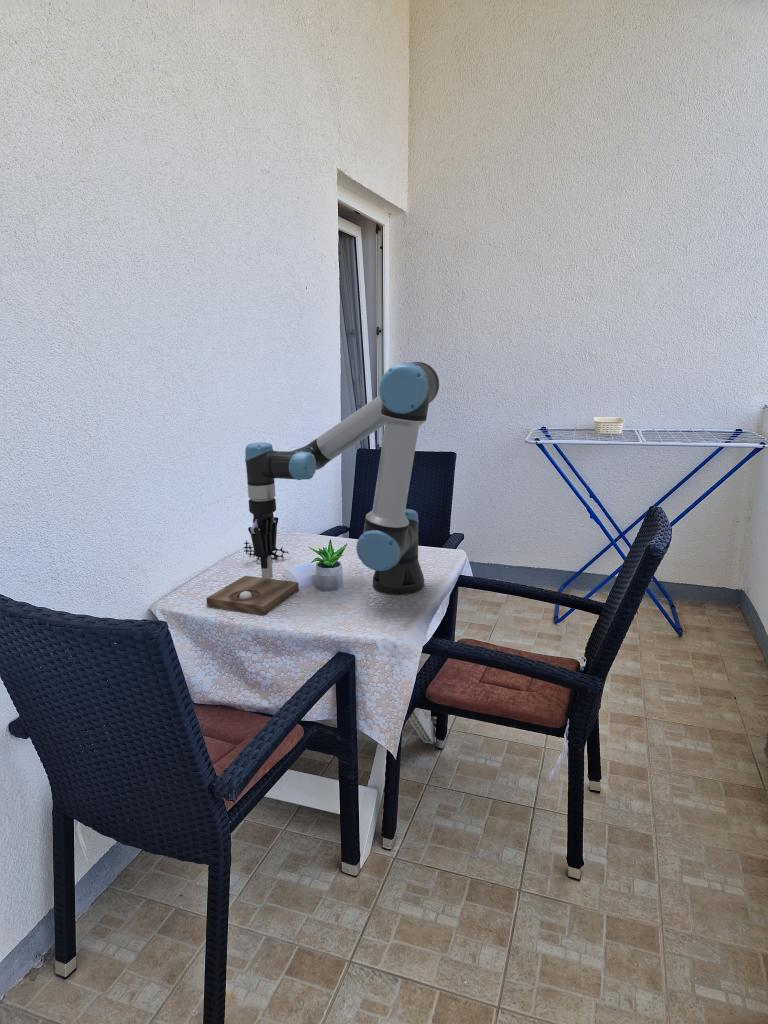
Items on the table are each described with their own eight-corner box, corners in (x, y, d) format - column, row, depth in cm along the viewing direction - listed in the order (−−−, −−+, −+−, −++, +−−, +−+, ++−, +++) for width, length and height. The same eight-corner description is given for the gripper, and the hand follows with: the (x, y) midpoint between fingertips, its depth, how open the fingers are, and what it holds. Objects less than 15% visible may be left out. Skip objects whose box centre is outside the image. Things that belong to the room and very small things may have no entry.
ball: (251, 607, 179) (255, 596, 181) (246, 600, 176) (251, 589, 178) (239, 605, 180) (244, 595, 182) (235, 598, 177) (240, 588, 179)
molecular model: (290, 560, 215) (289, 536, 213) (245, 567, 209) (243, 542, 207) (285, 555, 221) (284, 532, 219) (241, 562, 215) (239, 538, 213)
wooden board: (298, 590, 189) (298, 582, 188) (264, 615, 171) (263, 606, 171) (245, 583, 195) (244, 575, 194) (207, 606, 178) (206, 598, 177)
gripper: (262, 492, 190) (267, 569, 196) (237, 502, 178) (243, 583, 184) (285, 494, 187) (289, 571, 193) (261, 504, 176) (267, 586, 181)
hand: (267, 577), depth 189 cm, fingers closed
